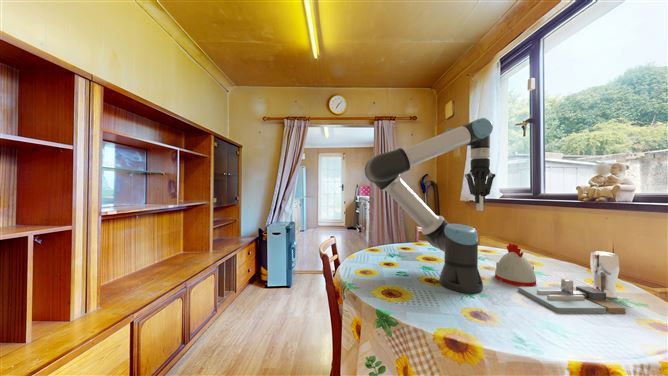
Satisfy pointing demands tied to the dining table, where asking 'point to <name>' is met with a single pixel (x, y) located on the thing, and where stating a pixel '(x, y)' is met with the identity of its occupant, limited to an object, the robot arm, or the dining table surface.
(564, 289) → the steel bolt
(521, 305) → the dining table surface
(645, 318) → the dining table surface
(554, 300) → the door lock board
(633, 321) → the dining table surface
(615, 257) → the beer glass
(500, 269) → the kitchen timer
